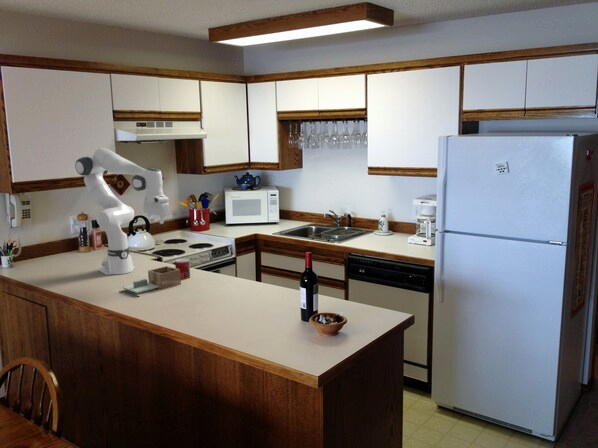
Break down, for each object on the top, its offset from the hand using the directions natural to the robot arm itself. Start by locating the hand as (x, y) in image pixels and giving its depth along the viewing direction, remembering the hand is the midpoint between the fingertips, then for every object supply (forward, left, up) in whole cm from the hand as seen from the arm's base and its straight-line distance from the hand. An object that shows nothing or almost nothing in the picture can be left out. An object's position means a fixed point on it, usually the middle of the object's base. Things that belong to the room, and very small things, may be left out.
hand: (156, 222), depth 303 cm
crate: (+13, -6, -33) cm, 36 cm away
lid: (+10, -19, -32) cm, 39 cm away
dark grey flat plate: (+10, -19, -33) cm, 39 cm away
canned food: (+9, +9, -33) cm, 35 cm away
